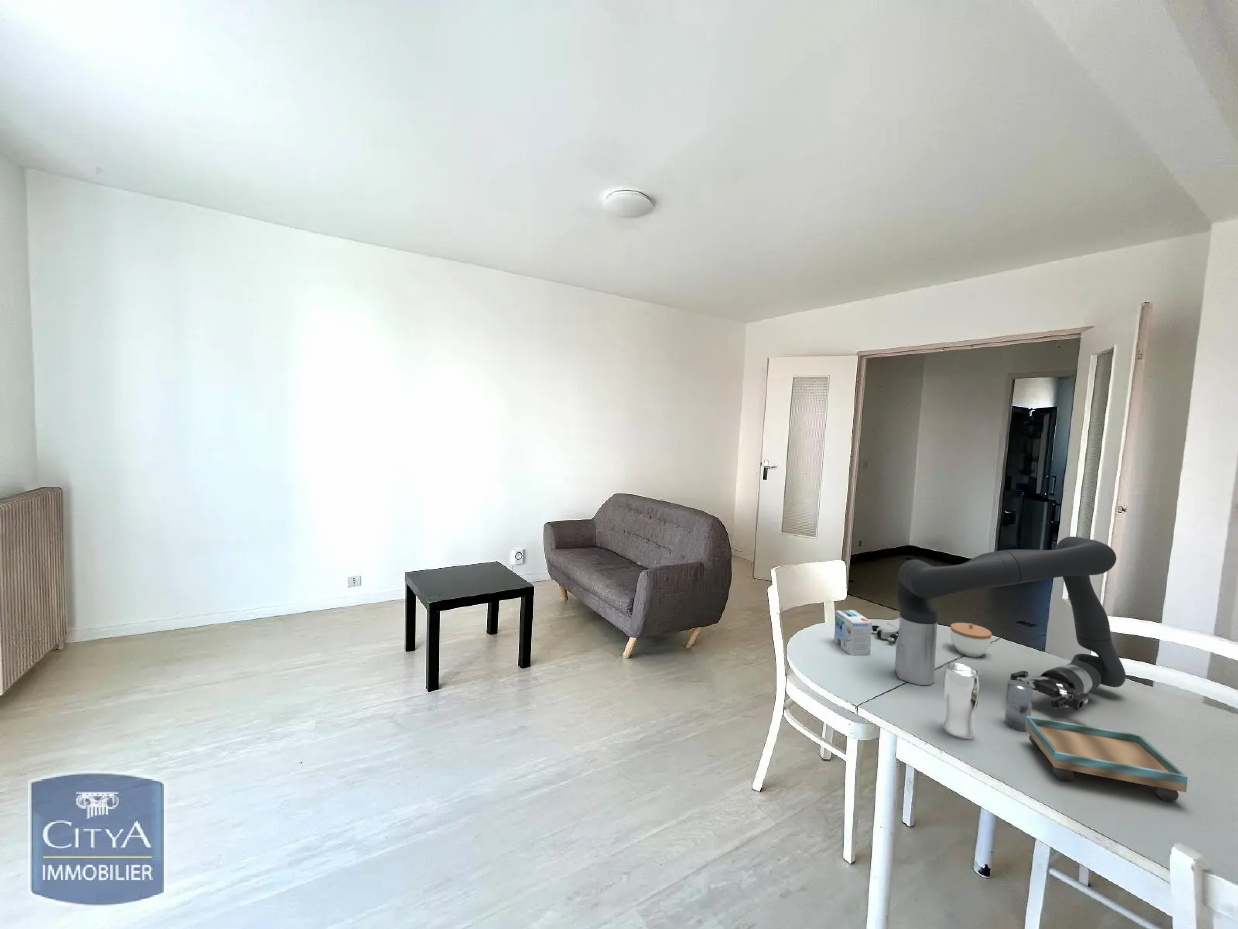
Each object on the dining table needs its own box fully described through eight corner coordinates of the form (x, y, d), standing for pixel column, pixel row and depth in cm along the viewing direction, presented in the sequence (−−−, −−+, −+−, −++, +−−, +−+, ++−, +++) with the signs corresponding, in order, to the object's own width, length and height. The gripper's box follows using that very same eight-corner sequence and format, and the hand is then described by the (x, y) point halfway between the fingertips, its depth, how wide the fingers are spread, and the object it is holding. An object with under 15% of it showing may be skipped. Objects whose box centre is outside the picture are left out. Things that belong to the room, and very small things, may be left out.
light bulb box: (833, 641, 168) (834, 609, 167) (852, 641, 168) (854, 609, 168) (850, 656, 157) (852, 622, 156) (871, 655, 158) (873, 621, 157)
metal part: (1008, 729, 119) (1011, 688, 119) (1001, 718, 124) (1003, 678, 123) (1033, 733, 118) (1036, 691, 117) (1024, 722, 122) (1027, 682, 121)
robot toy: (891, 650, 164) (929, 642, 168) (891, 636, 164) (929, 629, 167) (864, 635, 176) (899, 628, 180) (864, 622, 175) (899, 615, 179)
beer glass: (977, 744, 113) (982, 679, 112) (941, 734, 117) (944, 671, 116) (975, 729, 119) (979, 667, 118) (940, 720, 123) (944, 660, 122)
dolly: (1053, 781, 101) (1055, 753, 101) (1024, 741, 114) (1026, 716, 114) (1184, 807, 95) (1187, 777, 94) (1137, 761, 108) (1139, 734, 107)
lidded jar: (964, 643, 167) (965, 616, 167) (998, 657, 157) (1000, 628, 157) (941, 648, 164) (942, 620, 163) (974, 662, 154) (976, 632, 153)
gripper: (1035, 656, 136) (1000, 668, 129) (1103, 680, 123) (1069, 694, 116) (1033, 683, 137) (998, 696, 130) (1101, 710, 124) (1066, 726, 117)
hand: (1032, 695), depth 123 cm, fingers open, 8 cm apart
